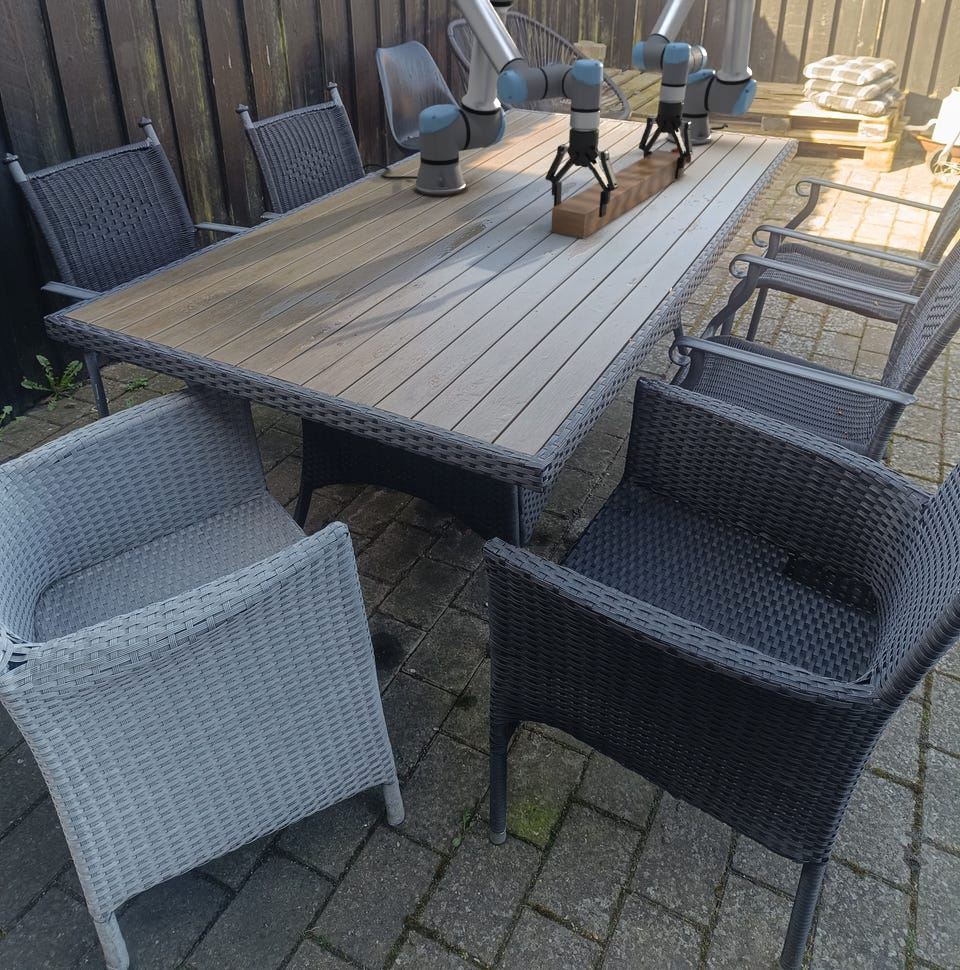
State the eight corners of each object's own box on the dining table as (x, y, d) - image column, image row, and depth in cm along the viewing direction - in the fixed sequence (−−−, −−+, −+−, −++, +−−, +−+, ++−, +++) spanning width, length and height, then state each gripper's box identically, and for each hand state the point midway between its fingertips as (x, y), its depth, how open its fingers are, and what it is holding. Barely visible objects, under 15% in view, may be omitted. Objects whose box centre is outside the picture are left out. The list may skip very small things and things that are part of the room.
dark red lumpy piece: (683, 144, 286) (693, 150, 280) (681, 156, 289) (692, 163, 282) (667, 145, 285) (678, 152, 279) (666, 158, 288) (676, 165, 281)
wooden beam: (583, 238, 223) (585, 214, 219) (551, 231, 227) (552, 207, 224) (683, 175, 271) (686, 154, 268) (655, 170, 276) (657, 149, 272)
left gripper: (635, 130, 211) (627, 215, 223) (548, 119, 222) (545, 201, 235) (623, 136, 206) (615, 223, 218) (534, 125, 217) (532, 208, 229)
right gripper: (711, 102, 254) (699, 178, 267) (642, 94, 264) (634, 167, 277) (702, 107, 249) (691, 184, 262) (632, 98, 258) (625, 173, 272)
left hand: (579, 212), depth 226 cm, fingers open, 13 cm apart
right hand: (662, 175), depth 269 cm, fingers closed on wooden beam, 10 cm apart
